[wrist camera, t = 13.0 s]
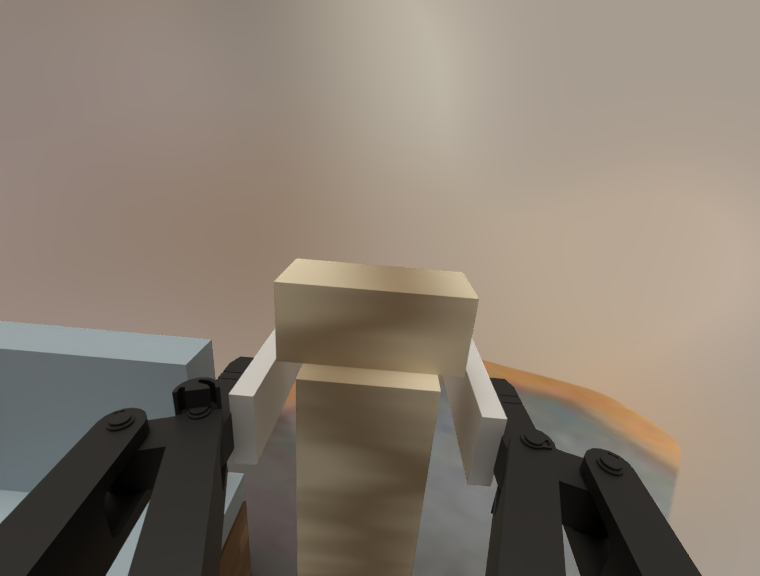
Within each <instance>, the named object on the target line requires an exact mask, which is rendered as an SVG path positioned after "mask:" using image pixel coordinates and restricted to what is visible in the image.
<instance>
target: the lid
mask: <svg viewBox="0 0 760 576" xmlns="http://www.w3.org/2000/svg"><path fill="white" fill-rule="evenodd" d="M199 377H209V378H212V379H215V371H214V360H213V350H212V340H210V339H200V338H188V337H177V336H164V335H154V334H142V333H131V332H119V331H109V330H97V329H86V328H75V327H63V326H52V325H41V324H29V323H18V322H5V321H0V523H1V522H2V521H3V520H4V519H5V518H6V517H7V516H8V515H9V514H10V513H11V512H12V511H13V510H14V509H15V507H16V506H17V505H18V504H19V503H20V502H21V501H22V500H23V499H24V498H25V497H26V496H27V495H28V494H29V493H30V492H31V491H32V490H33V489H34V488H35V486H36V485H37V484H38V483H39V482H40V481H41V480H42V479H43V478H44V477H45V476H46V475H47V474H48V473H49V472H50V471H51V470H52V469H53V468H54V466H55V465H56V464H57V463H58V462H59V461H60V460H61V459H62V458H63V457H64V456H65V455H66V454H67V453H68V452H69V451H70V450H71V449H72V448H73V447H74V445H75V444H76V443H77V442H78V441H79V440H80V439H81V438H82V437H83V436H84V435H85V434H86V433H87V432H88V431H89V430H90V429H91V428H92V427H93V426H94V424H95V423H96V422H98V421H99V420H100V419H101V418H103V417H104V416H106V415H108V414H110V413H112V412H114V411H117V410H121V409H125V408H139V409H142V410H144V411H145V412H146V415H147V420H151V419H159V418H166V417H172V416H175V409H174V403H173V396H172V392H173V390H174V389H175V387H177V386H178V385H180V384H181V383H183V382H185V381H187V380H190V379H194V378H199ZM245 496H246V494H245V480H244V474H242V473H231V472H228V475H227V487H226V499H225V511H224V523H223V535H222V547H221V550H222V548H223V546H224V543H225V541H226V539H227V537H228V534H229V532H230V530H231V528H232V525H233V523H234V521H235V518H236V516H237V514H238V512H239V509H240V507H241V505H242V503H243V500H244V498H245ZM149 502H150V501H149ZM149 502H148V504H147V506H146V508H145V509H144V511H143V513H142V514H141V516H140V518H139V520H138V521H137V523H136V525H135V526H134V528H133V530H132V532H131V533H130V535H129V537H128V538H127V540H126V542H125V544H124V545H123V547H122V549H121V550H120V552H119V554H118V556H117V557H116V559H115V561H114V562H113V564H112V566H111V568H110V569H109V571H108V573H107V574H106V576H128V573H129V569H130V566H131V562H132V559H133V556H134V552H135V549H136V546H137V542H138V539H139V536H140V532H141V529H142V525H143V522H144V519H145V515H146V512H147V509H148V505H149Z"/></svg>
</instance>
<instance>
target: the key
mask: <svg viewBox="0 0 760 576" xmlns="http://www.w3.org/2000/svg"><path fill="white" fill-rule="evenodd" d="M274 301H275V302H274V303H275V338H276V361H282V362H294V363H303V364H302V367H301V369H300V371H299V373H298V375H297V378H296V459H297V576H411V574H412V568H413V562H414V556H415V549H416V543H417V537H418V531H419V524H420V518H421V512H422V506H423V499H424V493H425V487H426V481H427V474H428V468H429V462H430V456H431V449H432V443H433V437H434V431H435V424H436V418H437V412H438V406H439V399H440V393H441V390H440V385H439V380H438V375H444V376H455V377H465V372H466V366H467V361H468V355H469V350H470V345H471V339H472V334H473V328H474V323H475V317H476V312H477V307H478V301H479V298H478V297H477V295H476V294H475V292H474V290H473V289H472V287H471V285H470V284H469V282H468V280H467V278H466V277H465V275H464V274H463V272H451V271H439V270H428V269H416V268H404V267H392V266H379V265H368V264H355V263H344V262H332V261H320V260H307V259H296V260H295V261H294V262H293V263H292V264H291V265H290V266H289V267H288V268H287V269H286V270H285V271H284V272H283V273H282V274H281V275H280V276H279V277H278V278H277V279H276V280H275V281H274Z"/></svg>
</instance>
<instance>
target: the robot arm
mask: <svg viewBox="0 0 760 576" xmlns="http://www.w3.org/2000/svg"><path fill="white" fill-rule="evenodd" d="M302 364H303V363H294V362H282V361H276V338H275V329H274V331H273V332H272V333H271V335H270V336H269V338H268V339H267V340H266V342H265V343H264V345H263V346H262V348H261V349H260V350H259V352H258V353H257V355H256V356H255V357H254V358H250V357H239V358H237V359H236V360H234V361H232V362H231V363H230V364H229V365H228V366H227V367H226V368H225V370H224V371H223V373H222V374H221V375H220V376H219V377H218V379H217V380H215V379H212V378H209V377H199V378H194V379H190V380H187V381H185V382H183V383H181V384H180V385H178V386H177V387H175V389H174V390H173V392H172V396H173V403H174V409H175V416H172V417H166V418H159V419H151V420H147V415H146V412H145V411H144V410H142V409H139V408H125V409H121V410H117V411H114V412H112V413H110V414H108V415H106V416H104V417H103V418H101V419H100V420H99V421H98V422H96V423H95V424H94V426H93V427H92V428H91V429H90V430H89V431H88V432H87V433H86V434H85V435H84V436H83V437H82V438H81V439H80V440H79V441H78V442H77V443H76V444H75V445H74V447H73V448H72V449H71V450H70V451H69V452H68V453H67V454H66V455H65V456H64V457H63V458H62V459H61V460H60V461H59V462H58V463H57V464H56V465H55V466H54V468H53V469H52V470H51V471H50V472H49V473H48V474H47V475H46V476H45V477H44V478H43V479H42V480H41V481H40V482H39V483H38V484H37V485H36V486H35V488H34V489H33V490H32V491H31V492H30V493H29V494H28V495H27V496H26V497H25V498H24V499H23V500H22V501H21V502H20V503H19V504H18V505H17V506H16V507H15V509H14V510H13V511H12V512H11V513H10V514H9V515H8V516H7V517H6V518H5V519H4V520H3V521H2V522H1V523H0V576H106V574H107V573H108V571H109V569H110V568H111V566H112V564H113V562H114V561H115V559H116V557H117V556H118V554H119V552H120V550H121V549H122V547H123V545H124V544H125V542H126V540H127V538H128V537H129V535H130V533H131V532H132V530H133V528H134V526H135V525H136V523H137V521H138V520H139V518H140V516H141V514H142V513H143V511H144V509H145V508H146V506H147V504H148V502H149V501H150V502H149V505H148V509H147V512H146V515H145V519H144V522H143V525H142V529H141V532H140V536H139V539H138V542H137V546H136V549H135V552H134V556H133V559H132V562H131V566H130V569H129V573H128V576H219V571H220V559H221V547H222V535H223V523H224V511H225V499H226V487H227V475H228V468H227V460H228V458H229V457H230V455H231V453H232V451H233V455H234V463H240V464H251V465H257V464H258V462H259V459H260V457H261V455H262V453H263V450H264V448H265V446H266V444H267V442H268V439H269V437H270V435H271V433H272V430H273V428H274V426H275V424H276V422H277V419H278V417H279V415H280V413H281V410H282V408H283V406H284V404H285V402H286V399H287V397H288V395H289V393H290V390H291V388H292V386H293V384H294V381H295V379H296V377H297V375H298V373H299V370H300V368H301V366H302ZM443 377H444V381H445V386H446V390H447V395H448V399H449V404H450V408H451V412H452V417H453V421H454V426H455V430H456V435H457V439H458V444H459V448H460V452H461V457H462V461H463V466H464V470H465V475H466V479H467V484H470V485H481V486H491V483H492V479H493V475H495V478H496V481H497V484H498V487H497V491H496V495H495V498H494V502H493V506H492V510H491V513H492V514H493V518H492V526H491V534H490V542H489V550H488V558H487V567H486V575H485V576H566V571H565V558H564V545H563V532H562V524H563V526H564V529H565V532H566V535H567V538H568V541H569V544H570V546H571V549H572V552H573V555H574V558H575V561H576V564H577V567H578V570H579V573H580V575H581V576H702V575H701V574H700V572H699V571H698V569H697V568H696V566H695V565H694V563H693V561H692V560H691V558H690V557H689V555H688V554H687V552H686V550H685V549H684V547H683V546H682V544H681V542H680V541H679V539H678V538H677V536H676V535H675V533H674V531H673V530H672V528H671V527H670V525H669V524H668V522H667V520H666V519H665V517H664V516H663V514H662V513H661V511H660V509H659V508H658V506H657V505H656V503H655V502H654V500H653V499H652V497H651V495H650V494H649V492H648V491H647V489H646V488H645V486H644V484H643V483H642V481H641V480H640V478H639V477H638V475H637V473H636V472H635V470H634V469H633V468H632V467H631V466H630V464H629V463H628V462H627V461H625V460H624V459H623V458H621V457H620V456H618V455H616V454H614V453H612V452H610V451H607V450H603V449H597V448H592V449H590V450H587V451H586V453H585V455H584V458H581V457H578V456H575V455H572V454H569V453H566V452H563V451H561V450H558V449H556V447H555V444H554V442H553V441H552V440H551V439H550V438H549V437H548V436H547V435H546V434H544V433H543V432H541V431H539V430H537V429H535V427H534V425H533V423H532V421H531V419H530V417H529V415H528V413H527V411H526V409H525V408H524V406H523V405H522V402H521V400H520V398H519V396H518V394H517V392H516V390H515V388H514V387H513V386H512V385H511V384H510V383H508V382H507V381H506V380H505V379H498V378H489V376H488V373H487V371H486V369H485V367H484V364H483V362H482V360H481V357H480V355H479V353H478V350H477V348H476V346H475V344H474V341H473V339H471V345H470V350H469V355H468V361H467V366H466V372H465V377H455V376H444V375H443Z"/></svg>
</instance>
